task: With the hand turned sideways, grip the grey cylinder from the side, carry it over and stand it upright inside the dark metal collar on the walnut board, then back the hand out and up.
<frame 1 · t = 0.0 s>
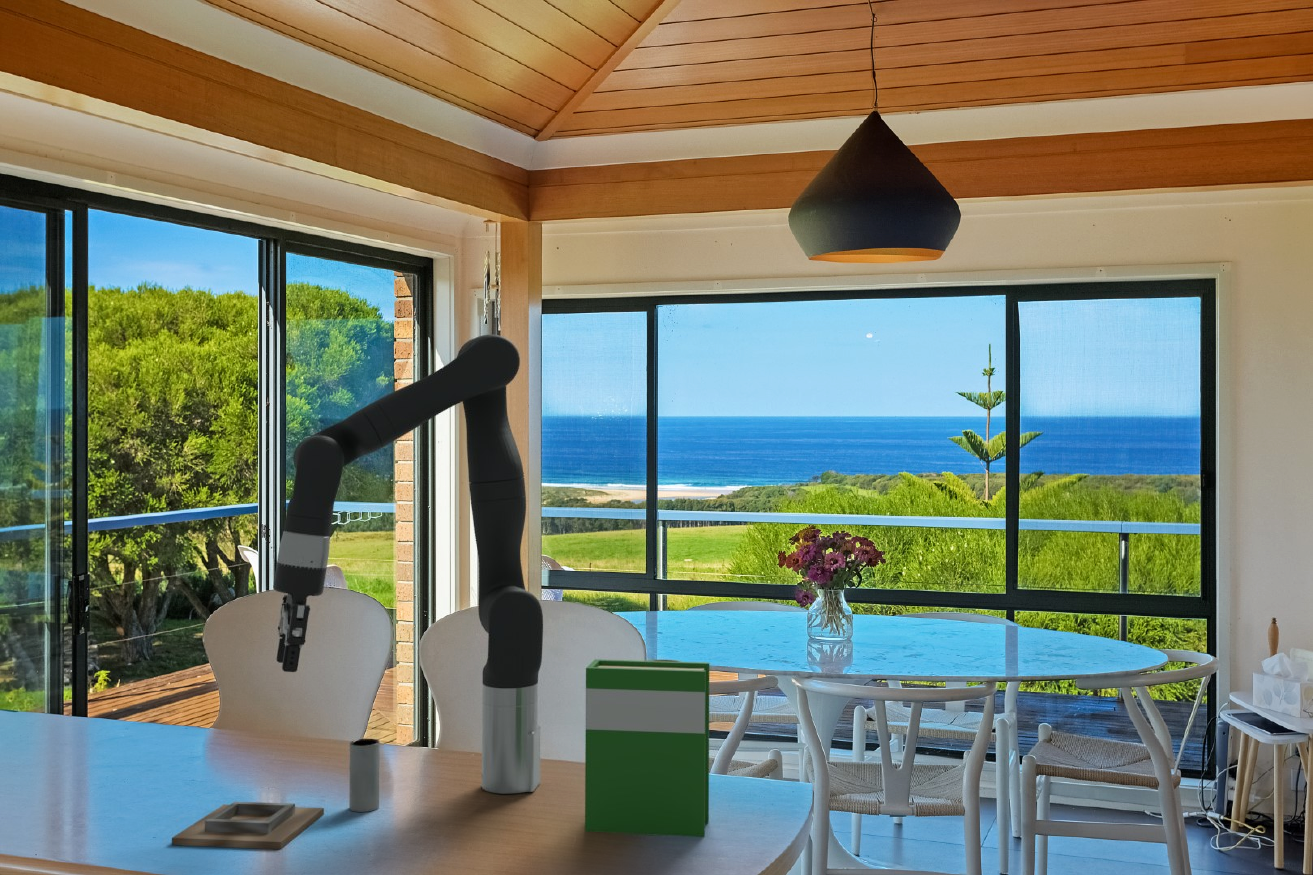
hand: (286, 666, 183), 22 cm above the table, tool pointing down, fingers open, 8 cm apart
grey cylinder: (364, 809, 185), on the table
hardback book: (647, 827, 177), on the table
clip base: (250, 828, 175), on the table
candle holder: (661, 784, 200), on the table
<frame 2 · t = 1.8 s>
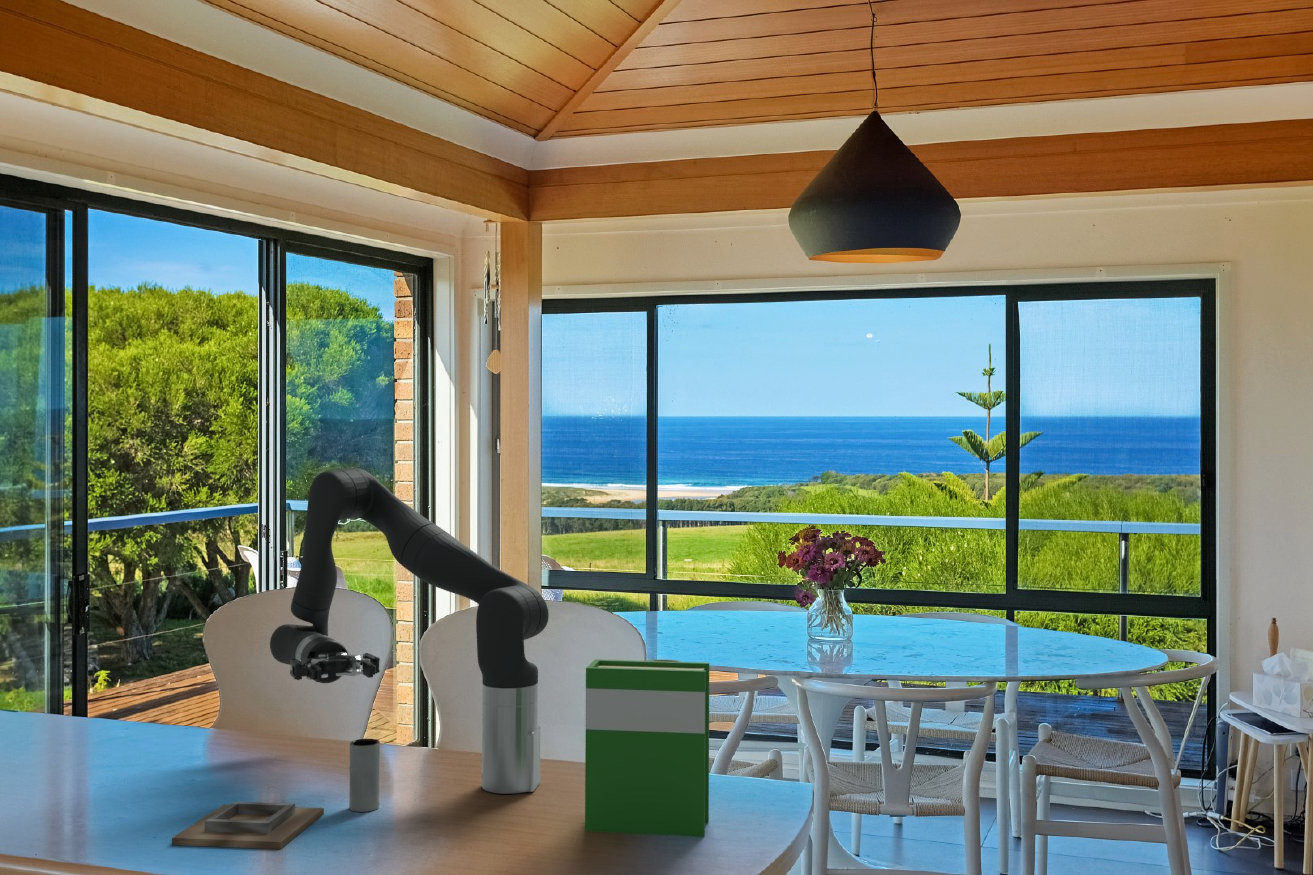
hand: (345, 673, 195), 19 cm above the table, tool horizontal, fingers open, 8 cm apart
nothing on the table moved.
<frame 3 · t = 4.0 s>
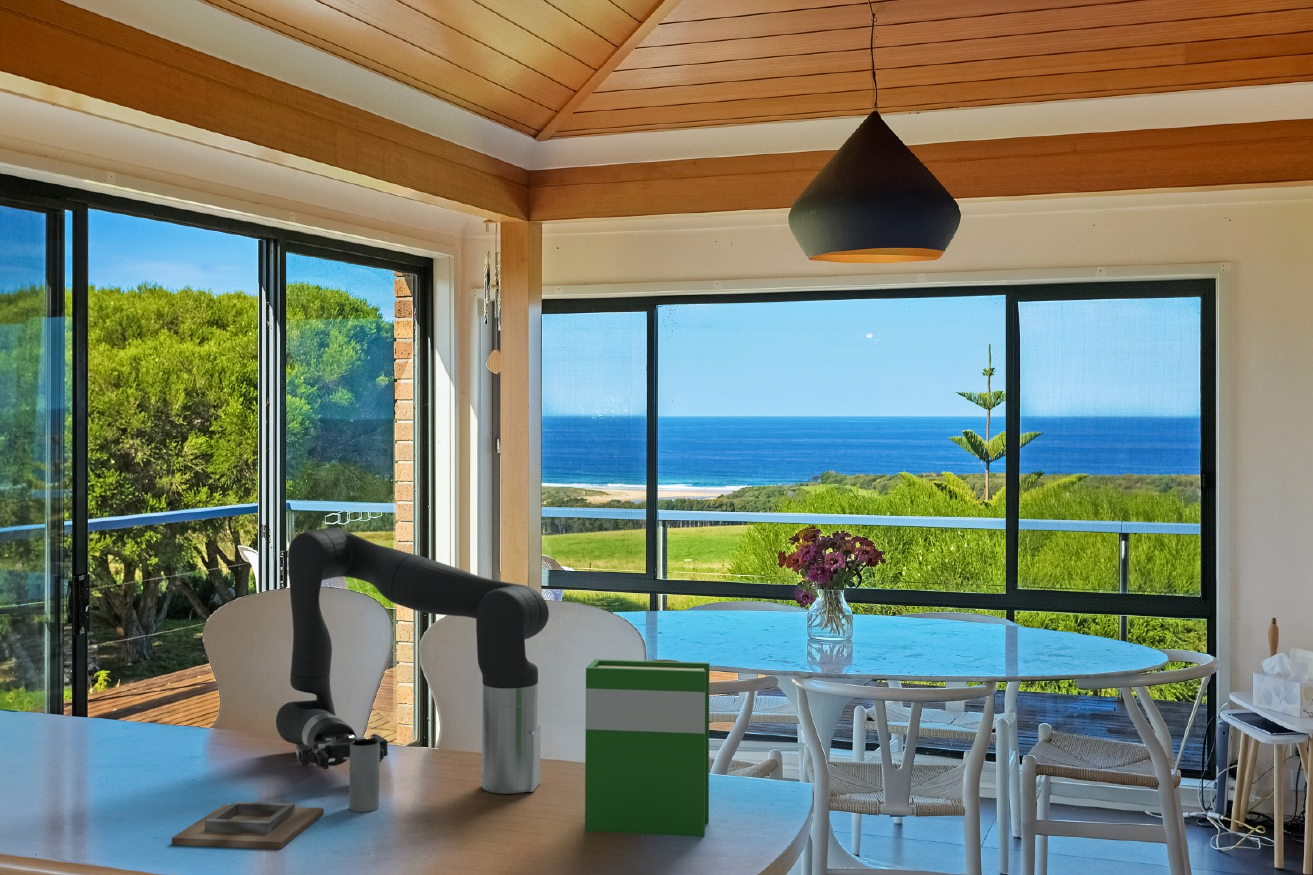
hand: (353, 759, 191), 6 cm above the table, tool horizontal, fingers open, 8 cm apart
nothing on the table moved.
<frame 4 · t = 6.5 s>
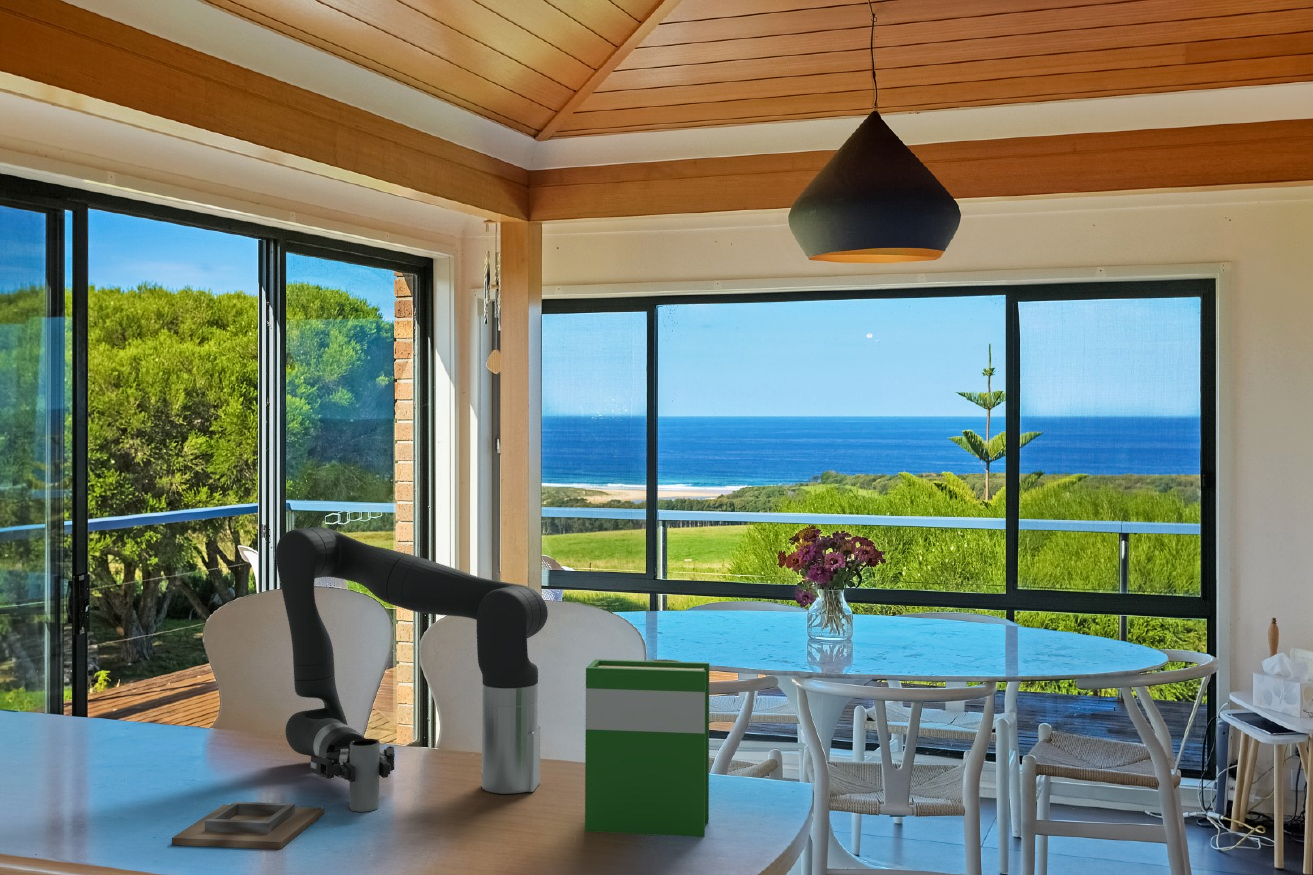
hand: (369, 773, 183), 6 cm above the table, tool horizontal, fingers closed on grey cylinder, 4 cm apart
grey cylinder: (364, 808, 185), on the table, touching gripper
everything else where it was.
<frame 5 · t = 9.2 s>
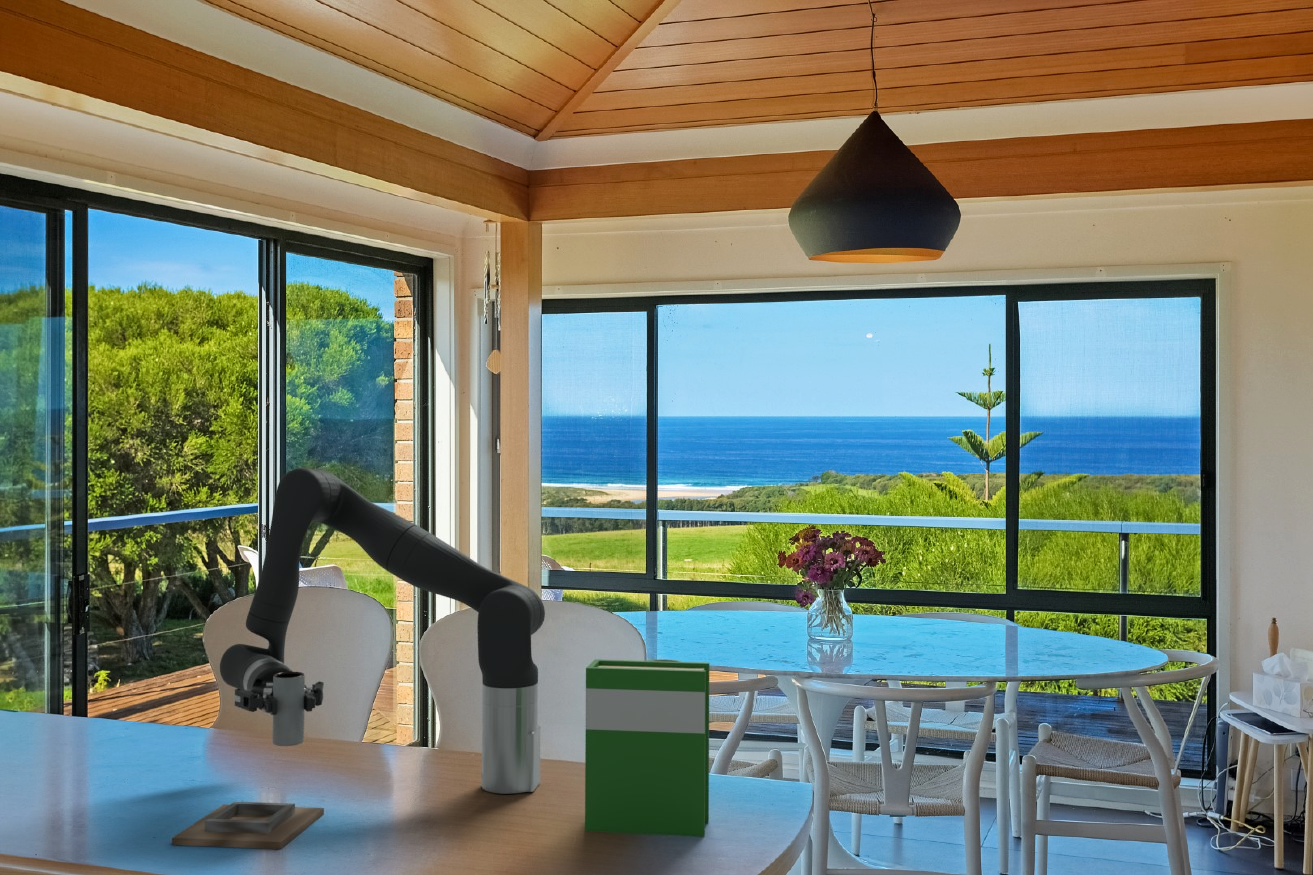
hand: (292, 706, 177), 18 cm above the table, tool horizontal, fingers closed on grey cylinder, 4 cm apart
grey cylinder: (288, 743, 179), point 12 cm above the table, touching gripper
everything else where it was.
when the fingers open (9 cm above the table, at t = 12.2 s): grey cylinder drops 1 cm, resting on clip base.
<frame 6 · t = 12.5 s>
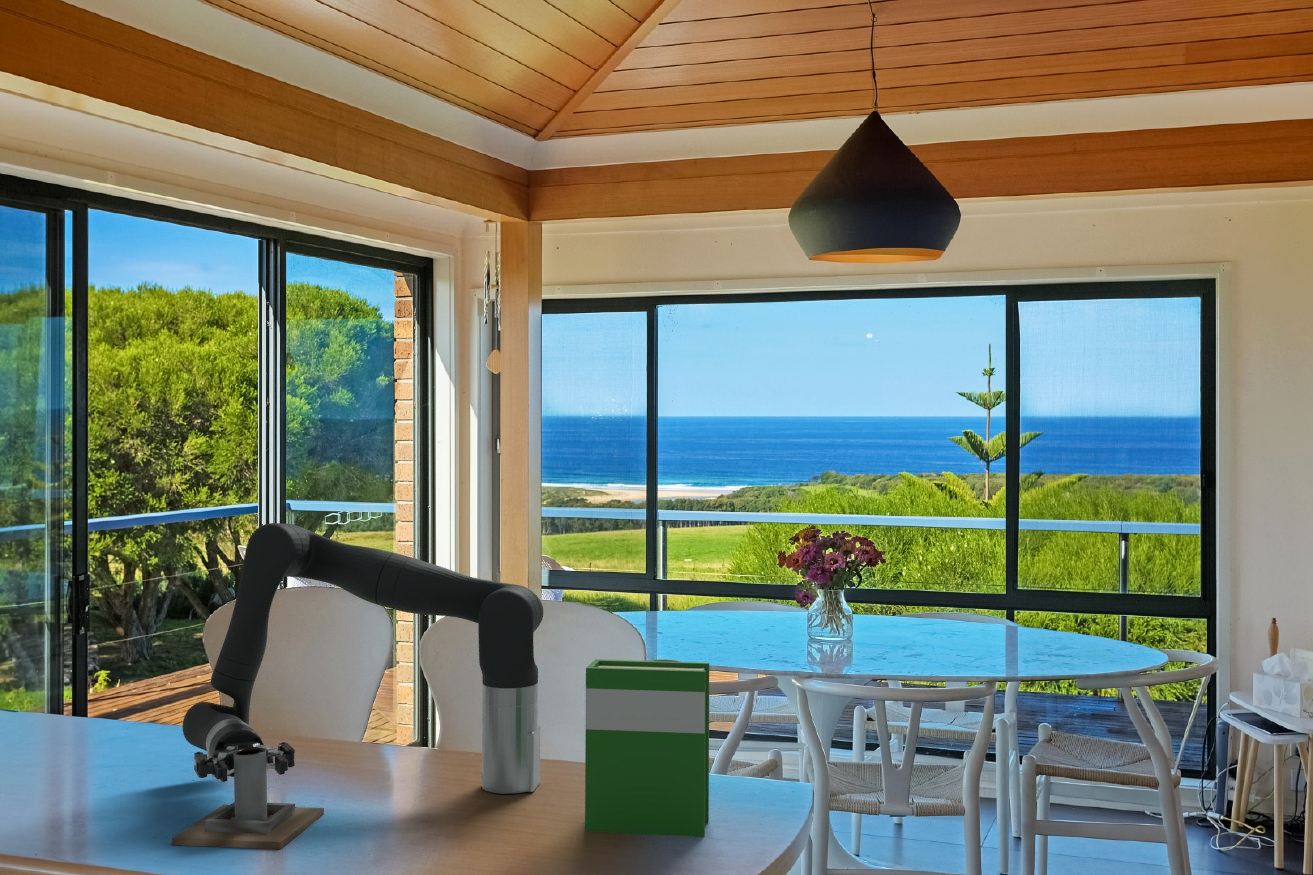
hand: (254, 770, 173), 9 cm above the table, tool horizontal, fingers open, 7 cm apart
grey cylinder: (251, 822, 175), point 1 cm above the table, touching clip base
everything else where it was.
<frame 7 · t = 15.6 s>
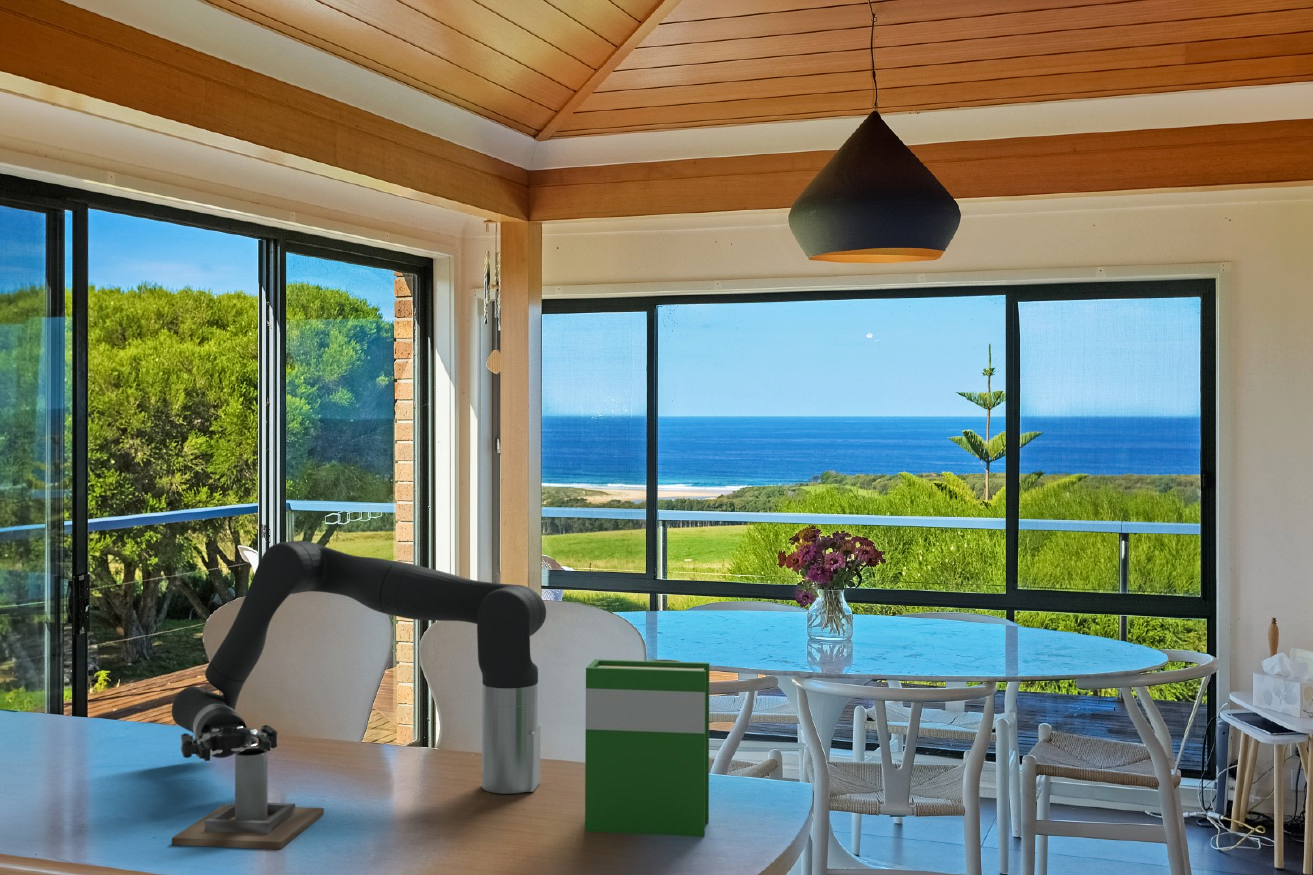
hand: (237, 751, 184), 9 cm above the table, tool horizontal, fingers open, 8 cm apart
nothing on the table moved.
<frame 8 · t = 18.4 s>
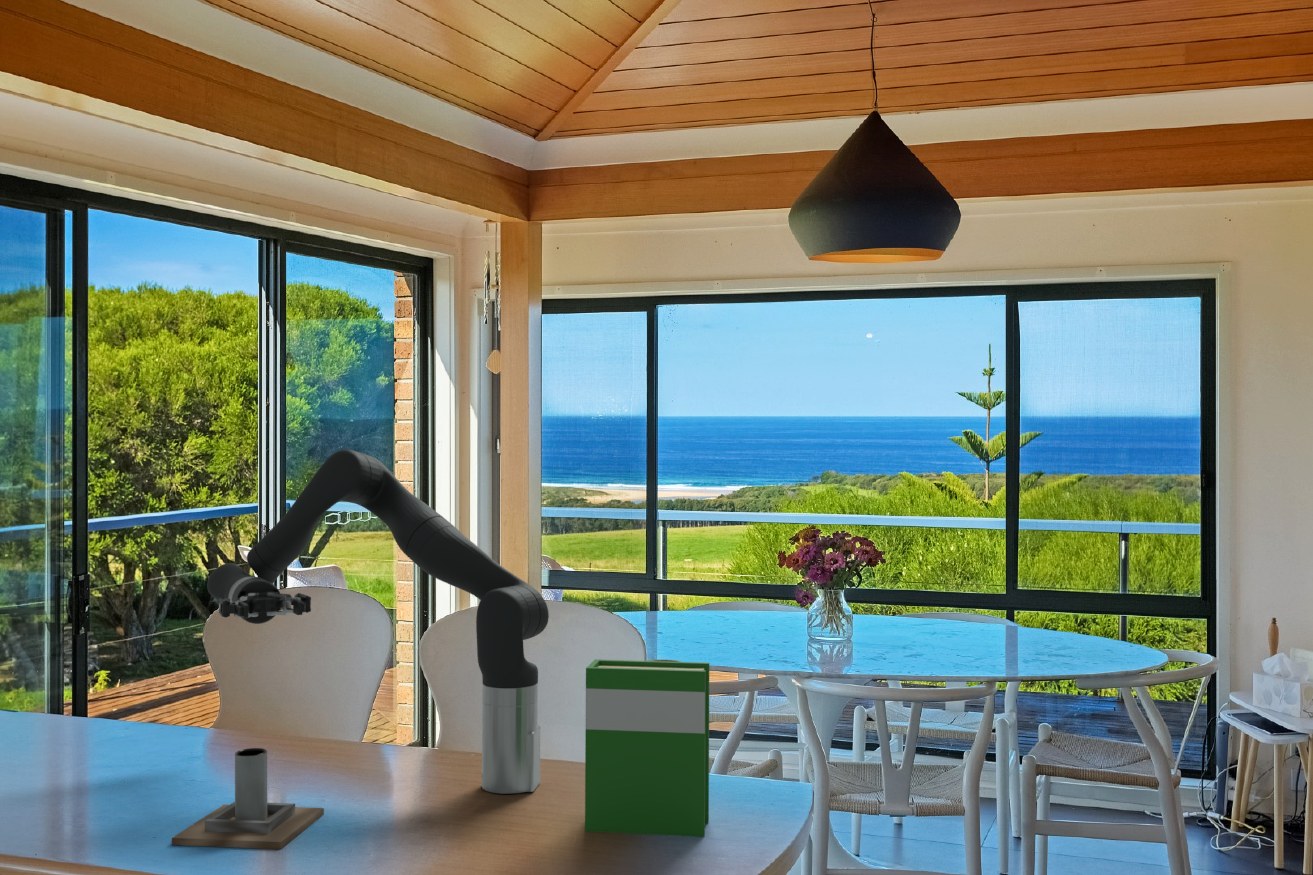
hand: (273, 610, 192), 30 cm above the table, tool horizontal, fingers open, 8 cm apart
nothing on the table moved.
at the end: grey cylinder 0.2 cm off-centre on the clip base, point 0.8 cm above the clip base's base; grey cylinder tilted 1°; the gripper is holding nothing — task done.
